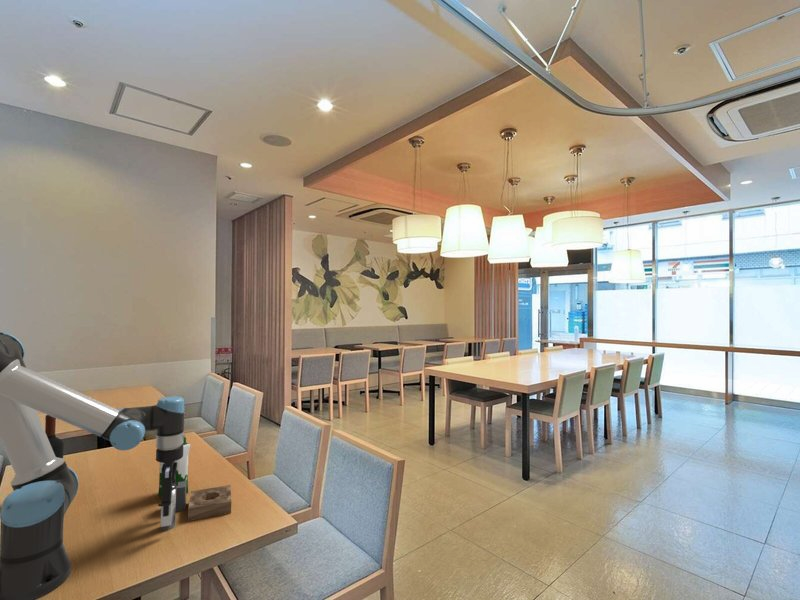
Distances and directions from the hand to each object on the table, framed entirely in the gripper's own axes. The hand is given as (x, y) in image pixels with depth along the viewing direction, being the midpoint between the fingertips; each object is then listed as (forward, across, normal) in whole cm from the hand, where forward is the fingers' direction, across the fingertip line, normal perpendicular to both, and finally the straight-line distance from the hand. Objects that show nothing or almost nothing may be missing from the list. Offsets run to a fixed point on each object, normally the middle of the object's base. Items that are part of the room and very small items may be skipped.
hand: (168, 516), depth 125 cm
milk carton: (+4, +24, +1) cm, 24 cm away
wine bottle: (+4, +37, +41) cm, 55 cm away
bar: (+3, +12, -2) cm, 13 cm away
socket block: (+3, +8, -12) cm, 15 cm away
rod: (+3, 0, 0) cm, 3 cm away
